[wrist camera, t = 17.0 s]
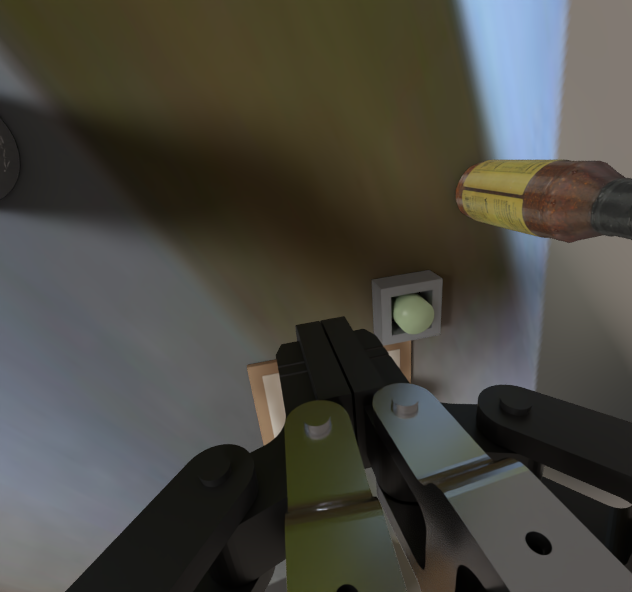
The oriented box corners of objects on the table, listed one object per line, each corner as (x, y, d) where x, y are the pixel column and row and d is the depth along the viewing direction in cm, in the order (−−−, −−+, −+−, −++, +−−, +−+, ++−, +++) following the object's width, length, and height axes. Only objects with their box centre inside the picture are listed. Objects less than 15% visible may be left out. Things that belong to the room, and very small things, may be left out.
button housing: (373, 333, 44) (382, 345, 41) (371, 279, 41) (380, 289, 38) (428, 323, 45) (440, 334, 42) (429, 269, 42) (442, 278, 39)
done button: (387, 323, 42) (399, 337, 39) (387, 292, 41) (399, 304, 38) (419, 317, 43) (433, 330, 40) (420, 286, 41) (434, 297, 38)
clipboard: (267, 458, 48) (267, 465, 47) (246, 363, 42) (246, 369, 41) (408, 426, 51) (412, 431, 50) (409, 332, 44) (412, 336, 44)
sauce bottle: (493, 221, 41) (691, 282, 23) (444, 214, 39) (615, 273, 21) (513, 160, 39) (752, 175, 21) (462, 150, 37) (671, 157, 19)
